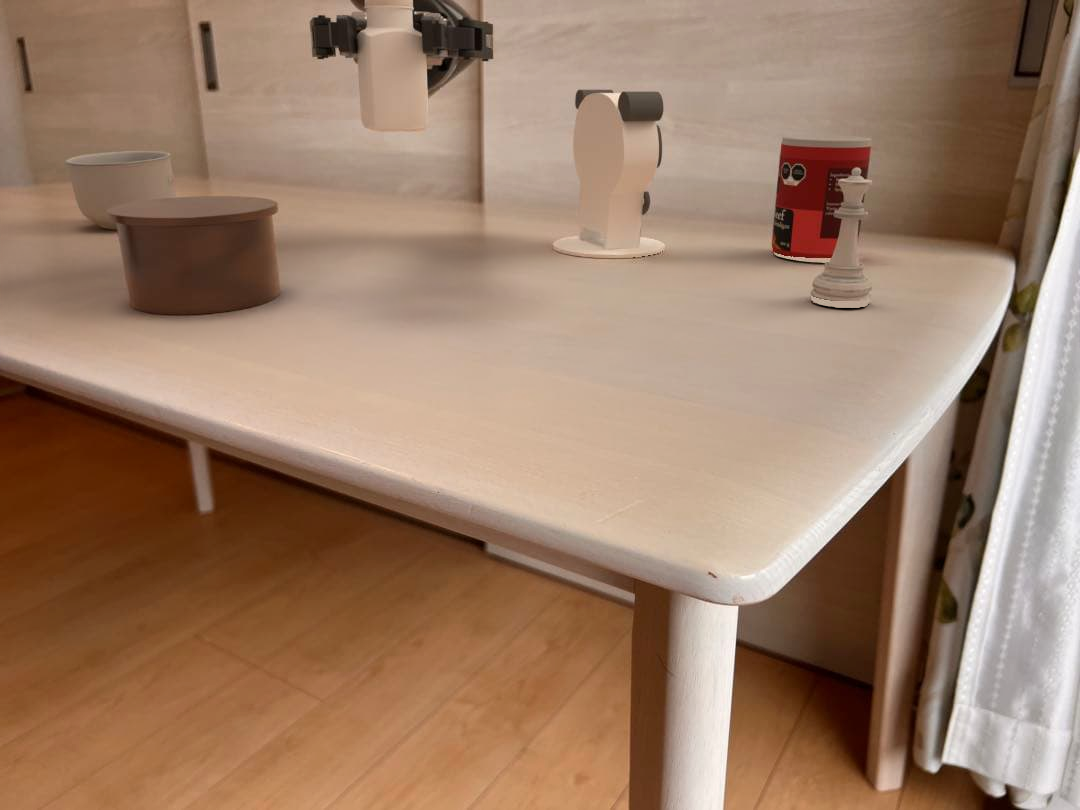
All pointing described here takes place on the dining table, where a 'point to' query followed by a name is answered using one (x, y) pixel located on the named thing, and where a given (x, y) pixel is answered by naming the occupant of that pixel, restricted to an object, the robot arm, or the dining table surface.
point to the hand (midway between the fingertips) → (385, 34)
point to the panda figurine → (614, 172)
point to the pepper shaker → (392, 69)
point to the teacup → (119, 181)
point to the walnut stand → (198, 253)
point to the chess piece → (846, 248)
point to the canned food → (814, 191)
